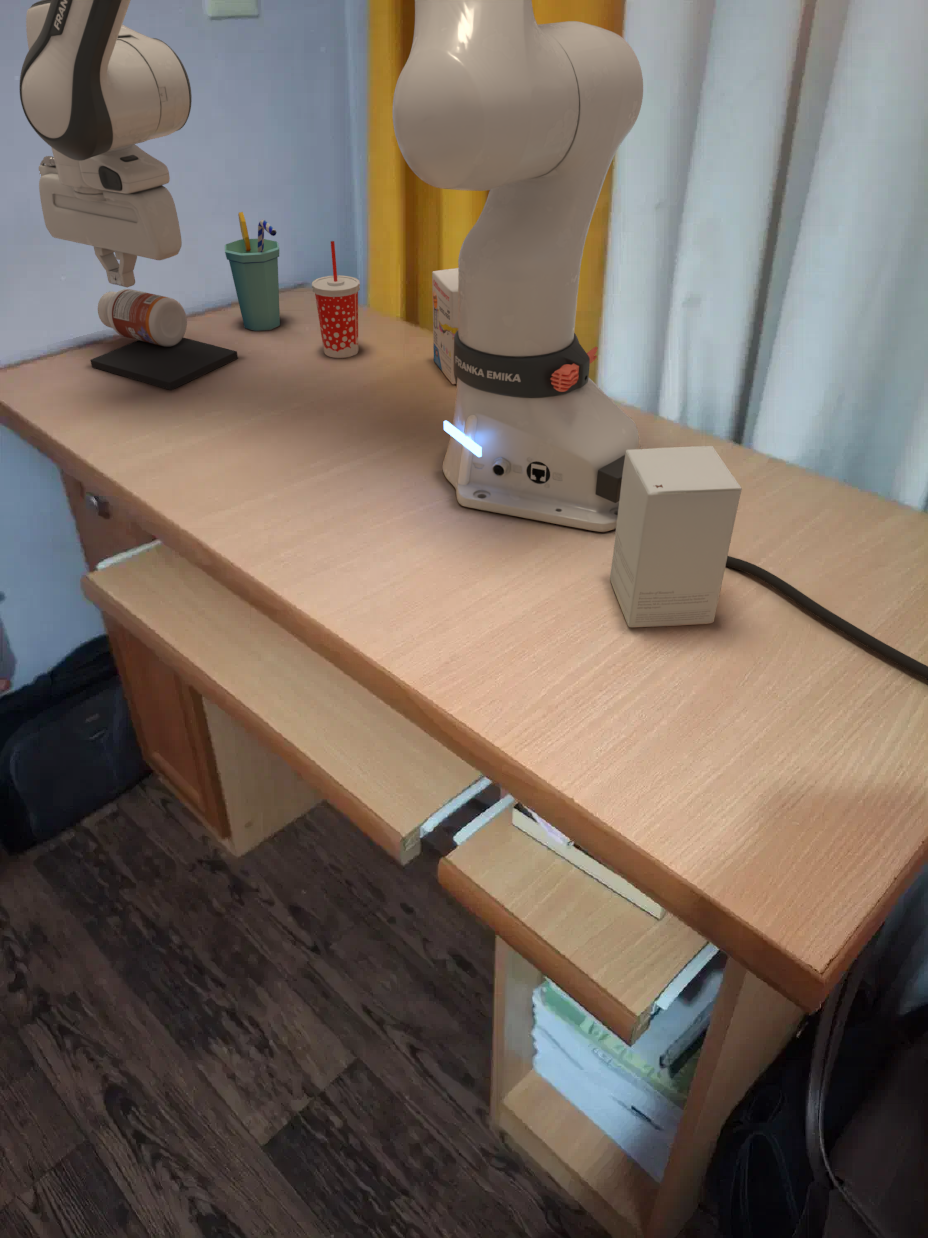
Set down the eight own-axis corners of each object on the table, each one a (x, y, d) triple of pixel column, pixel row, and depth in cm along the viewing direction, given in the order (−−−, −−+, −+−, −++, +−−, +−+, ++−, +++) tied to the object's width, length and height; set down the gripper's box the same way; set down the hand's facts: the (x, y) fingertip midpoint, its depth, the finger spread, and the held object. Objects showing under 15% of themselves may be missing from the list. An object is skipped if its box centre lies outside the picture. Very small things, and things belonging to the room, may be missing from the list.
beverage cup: (334, 339, 125) (325, 232, 116) (373, 347, 122) (366, 238, 114) (309, 354, 120) (297, 244, 112) (348, 363, 118) (339, 250, 110)
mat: (238, 358, 119) (237, 350, 119) (171, 390, 111) (169, 382, 110) (161, 337, 125) (159, 330, 124) (91, 367, 117) (89, 359, 116)
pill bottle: (182, 353, 121) (123, 339, 126) (193, 307, 120) (134, 294, 125) (147, 339, 115) (87, 325, 120) (159, 291, 115) (98, 278, 119)
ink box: (431, 360, 119) (430, 268, 112) (492, 352, 121) (495, 261, 114) (451, 385, 112) (451, 289, 105) (515, 377, 115) (519, 282, 107)
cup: (312, 335, 126) (300, 220, 117) (260, 346, 122) (244, 229, 113) (268, 306, 135) (255, 198, 126) (219, 317, 132) (201, 205, 122)
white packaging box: (715, 625, 74) (745, 489, 67) (626, 629, 74) (645, 492, 66) (690, 574, 80) (715, 443, 73) (607, 577, 80) (623, 446, 72)
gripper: (14, 158, 108) (46, 277, 117) (137, 179, 100) (161, 305, 108) (57, 149, 112) (85, 264, 121) (178, 168, 104) (199, 291, 113)
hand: (122, 284), depth 115 cm, fingers closed
